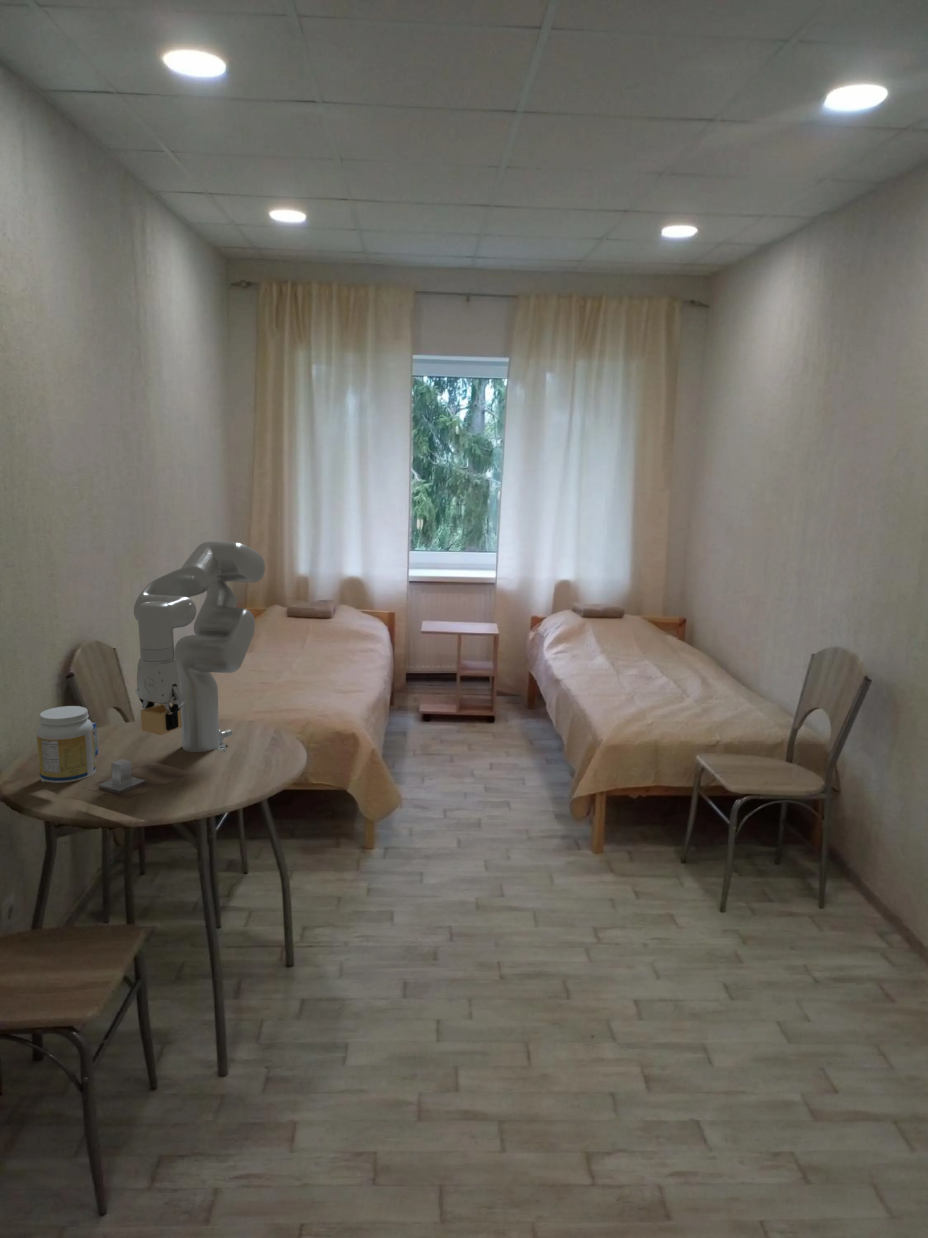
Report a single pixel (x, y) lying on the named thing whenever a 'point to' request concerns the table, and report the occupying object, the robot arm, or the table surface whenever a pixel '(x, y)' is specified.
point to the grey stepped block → (121, 778)
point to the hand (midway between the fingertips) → (161, 725)
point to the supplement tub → (65, 744)
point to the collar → (157, 719)
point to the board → (146, 779)
